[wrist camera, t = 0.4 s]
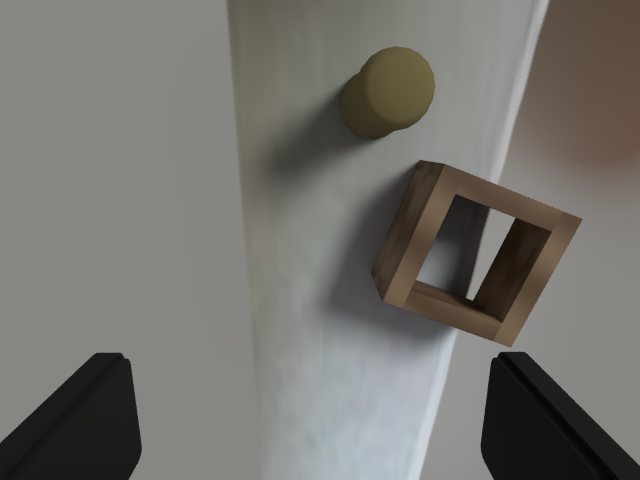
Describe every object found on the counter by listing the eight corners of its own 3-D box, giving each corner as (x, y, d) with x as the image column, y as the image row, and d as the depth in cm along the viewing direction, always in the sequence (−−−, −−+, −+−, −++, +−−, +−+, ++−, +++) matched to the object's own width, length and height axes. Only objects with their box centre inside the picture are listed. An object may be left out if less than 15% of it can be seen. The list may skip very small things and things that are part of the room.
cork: (420, 93, 34) (468, 70, 23) (382, 151, 35) (410, 155, 25) (364, 53, 33) (388, 11, 22) (327, 114, 34) (332, 101, 24)
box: (420, 159, 35) (445, 164, 29) (533, 205, 37) (582, 219, 30) (370, 273, 38) (382, 301, 31) (477, 312, 39) (510, 347, 33)
